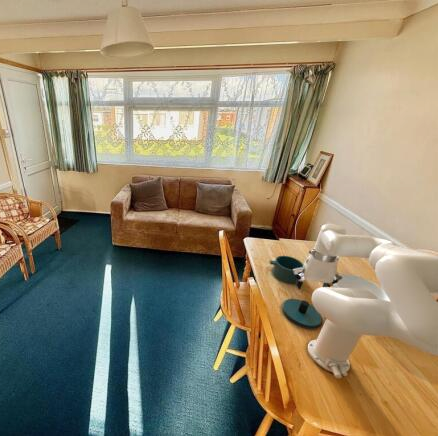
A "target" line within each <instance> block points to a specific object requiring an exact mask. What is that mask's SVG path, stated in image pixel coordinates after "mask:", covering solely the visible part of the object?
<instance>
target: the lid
mask: <svg viewBox="0 0 438 436" xmlns="http://www.w3.org/2000/svg"><path fill="white" fill-rule="evenodd" d="M282 307H283V309H284V311H285V313H286V314H287V315H288V316H289V317H290V318H291V319H293V320H294V321H296V322H298V323H300V324H303V325H306V326H317V325H319V324H320V323H321V321H323V316H322V315H320V314H319V313H318V312H317V310H316V309H315V308H314V306H313V304H310V303H309V302H308V301H307V300H305V299H304V300H301V299H297V298H288V299H285V300H284V302H283V303H282ZM321 324H322V323H321Z"/></svg>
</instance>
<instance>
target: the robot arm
mask: <svg viewBox="0 0 438 436" xmlns="http://www.w3.org/2000/svg"><path fill="white" fill-rule="evenodd" d="M308 254H309V255H308V257H307V258H306V260H305V261H304V263H303V264H304V265H303V267H300V268H296V269H293V272H294V275H295V277H296V278H297V281H296V284H295V286H296V287H297V289H298V290H301V289H302V288H303V287H302V286H303V284H304V281H305V280H306V281H310V282H318V283H323V284H322V286H321V287H318V288H316V289H315V290H314V291H313V292H312V294H311V303H312V306H313V307H314V308H315V309H316V310H317V312H318V313H319V314H320V315H321V317H322V318H325V321H324V323H323V325H322V327H321V330H320V332H319V334H318V336H317V338H316V339H312V340H310V341H309V342H308V345H307V351H308V354H309V357H310V358H311V359H312V360H313V361H314V362H315V363H317V365H319V366H320V367H321V368H323V369H324V370H326V371H328V372H331V373H333V376H334V377H335V378H336V379H341V378H343V377H347V376H348V375H349V374H348V372H349V370H350V369H351V363H350V360H349V357H350V356H351V355H352V352H353V351H354V349H355V348H356V346H357V344H358V343H359V342H360V339H361V338H362V336H372V337H373V336H374V337H383V338H384V337H385V338H391V339H394V340H397V341H399V342H402V343H404V344H405V345H408V346H410V347H413V348H414V349H417V350H419V351H421V352H425V353H427V354H429V355H432V356H434V357H438V301H437V299H435V297H434V295H433V294H438V255H436V254H433V253H432V254H431V253H427V252H424V251H419V250H416V249H411V248H409V247H404V246H400V245H397V244H396V243H394V242H393V241H391V240H388V239H384V238H379V237H376V236H371V235H361V234H359V235H357V234H356V235H355V234H347V230H346V228H345V227H343V226H341V225H339V224H335V223H325V224H322V226H321V228H320V230H319V234H318V236H317V238H316V242H315V245H314V247H313V248H312V249H311V250H309V251H308ZM337 257H339V258H359V259H361V258H362V259H368V261H369V265H370V266H371V268H372V269H373V270H374V271H375V276H376V279H377V281H378V283H379V286H380V287H382V288H383V290H384V292H385V293H386V295H387V297H388V298H389V300H390V301H391V302H390V301H386V300H379V299H378V298H377V297H376V296H375V295H374V294H372V293H371V292H368V291H366V290H362V289H355V288H334V286H333V284H335V283H337V282H338V281H339V280H341V279H342V276H341V275H339V273H337V269H338V263H339V260H338V261H337V260H336V258H337ZM298 272H301V274H299V275H298ZM334 277H335V278H334Z"/></svg>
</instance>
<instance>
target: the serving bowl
mask: <svg viewBox="0 0 438 436" xmlns="http://www.w3.org/2000/svg"><path fill="white" fill-rule="evenodd" d="M338 274H339V273H338ZM339 275H341V276H342V279H341V280H339V281H338V282H337V283H335V284H333V286H332V287H334V288H355V289H362V290H366V291H368V292H371V293H372V294H374V295H375V296H376V297H377V298H378V299H379V300H386V301H390V300H389V298H388V297H387V295H386V293H385V292H384V290H383V288H382V287H381V285H380V284H377V283H376V282H374V281H372V280H370V279H367V278H366V277H362V276H359V275H355V274H351V273H340V274H339ZM334 278H335V277H334ZM390 302H391V301H390Z"/></svg>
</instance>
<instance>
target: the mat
mask: <svg viewBox="0 0 438 436" xmlns="http://www.w3.org/2000/svg"><path fill="white" fill-rule="evenodd" d="M281 311H282V313H283V316H285V318H286V319H287V320H288V321H289V322H291V323H292V324H293V325H296V326H297V327H299V328H302V329H305V330H317V329H319V328H320V327H321V326H322V324H323V322H322V321H323V320H322V321H321V323H320V324H319V325H317V326H306V325H303V324H300V323H298V322H296V321H294V320H293V319H291V318H290V317H289V316H288V315H287V314H286V313H285V311H284V309H283V306H282V307H281Z"/></svg>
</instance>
